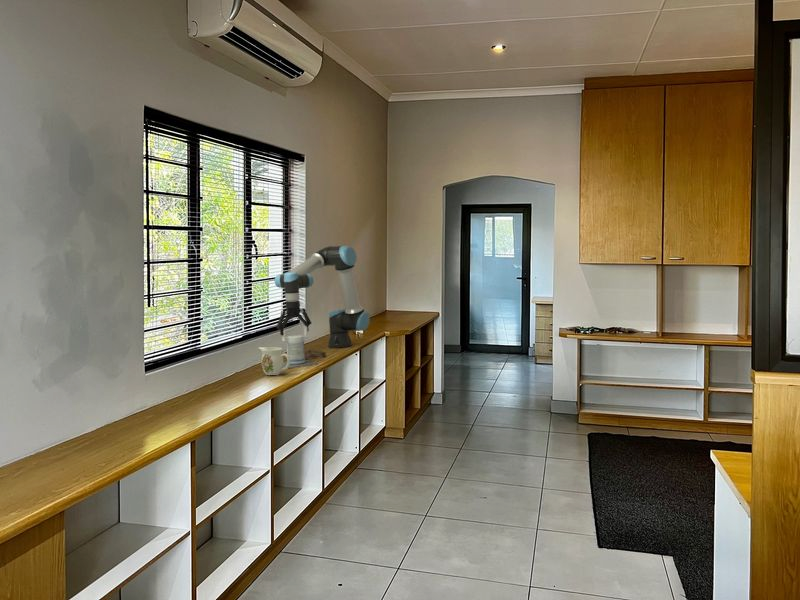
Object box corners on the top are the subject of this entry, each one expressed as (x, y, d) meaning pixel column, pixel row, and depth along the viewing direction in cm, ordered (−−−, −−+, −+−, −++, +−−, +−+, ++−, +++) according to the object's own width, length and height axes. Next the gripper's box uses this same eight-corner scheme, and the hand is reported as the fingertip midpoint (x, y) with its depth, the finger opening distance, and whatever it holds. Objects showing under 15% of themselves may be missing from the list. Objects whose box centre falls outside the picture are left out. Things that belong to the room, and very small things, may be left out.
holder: (312, 353, 411) (311, 349, 410) (325, 356, 398) (325, 352, 398) (291, 356, 402) (291, 352, 402) (304, 359, 390) (304, 355, 390)
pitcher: (284, 377, 341) (283, 350, 340) (253, 376, 348) (252, 349, 347) (295, 373, 352) (294, 346, 350) (265, 372, 358) (264, 345, 357)
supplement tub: (308, 363, 376) (306, 336, 375) (292, 365, 371) (290, 338, 370) (300, 360, 384) (298, 334, 383) (284, 363, 379) (283, 336, 378)
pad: (302, 359, 390) (302, 359, 390) (318, 363, 376) (318, 363, 376) (273, 364, 379) (273, 363, 379) (289, 368, 365) (289, 367, 365)
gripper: (309, 298, 385) (311, 335, 387) (268, 302, 370) (271, 341, 372) (316, 298, 379) (318, 336, 381) (275, 303, 364) (277, 343, 366)
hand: (295, 339), depth 376 cm, fingers open, 13 cm apart
